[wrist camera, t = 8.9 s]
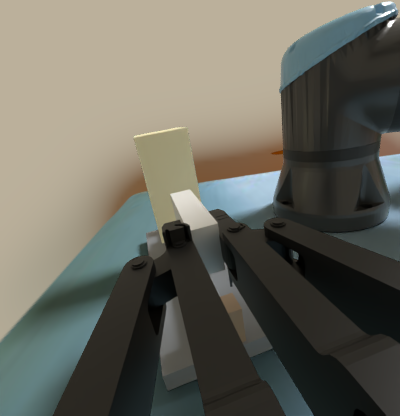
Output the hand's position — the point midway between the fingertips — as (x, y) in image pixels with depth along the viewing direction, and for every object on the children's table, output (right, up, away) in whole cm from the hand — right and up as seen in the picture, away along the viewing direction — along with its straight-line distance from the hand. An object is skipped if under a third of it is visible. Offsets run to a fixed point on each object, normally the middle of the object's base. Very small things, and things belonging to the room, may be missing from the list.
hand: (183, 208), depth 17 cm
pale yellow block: (-1, -5, +11) cm, 12 cm away
